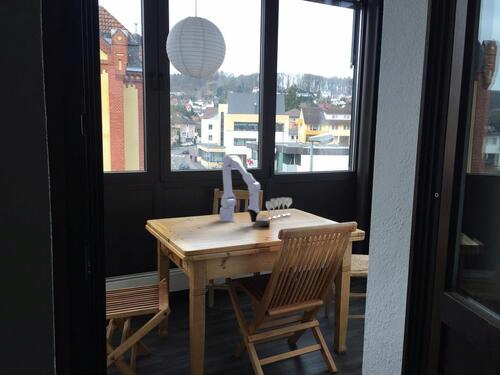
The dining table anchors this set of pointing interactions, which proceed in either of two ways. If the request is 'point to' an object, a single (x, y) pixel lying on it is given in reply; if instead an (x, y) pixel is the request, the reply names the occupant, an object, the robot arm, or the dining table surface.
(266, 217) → the walnut shelf
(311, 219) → the dining table surface
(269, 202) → the goblet set
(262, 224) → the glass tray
